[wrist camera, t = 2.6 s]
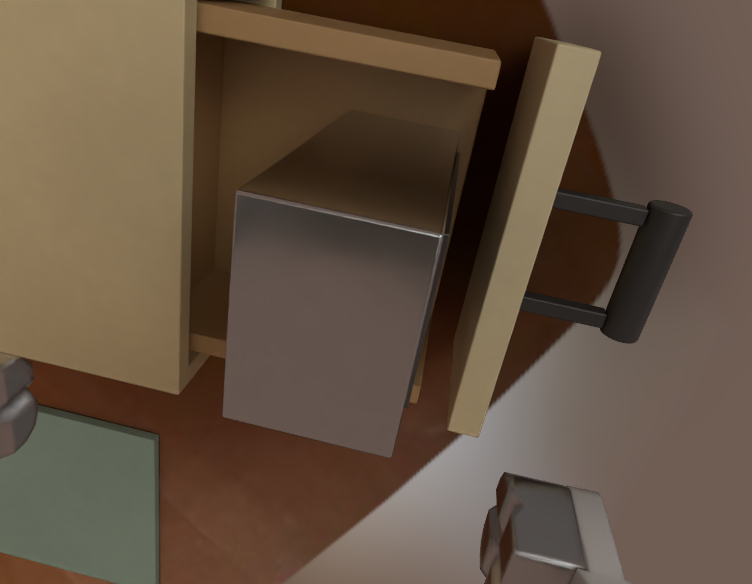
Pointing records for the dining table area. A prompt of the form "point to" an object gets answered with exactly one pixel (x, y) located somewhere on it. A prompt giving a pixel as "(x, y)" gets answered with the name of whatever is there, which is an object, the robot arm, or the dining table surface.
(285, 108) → the drawer
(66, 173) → the cabinet
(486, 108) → the dining table surface
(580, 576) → the robot arm
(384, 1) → the dining table surface
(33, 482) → the mat
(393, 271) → the brushed metal box
